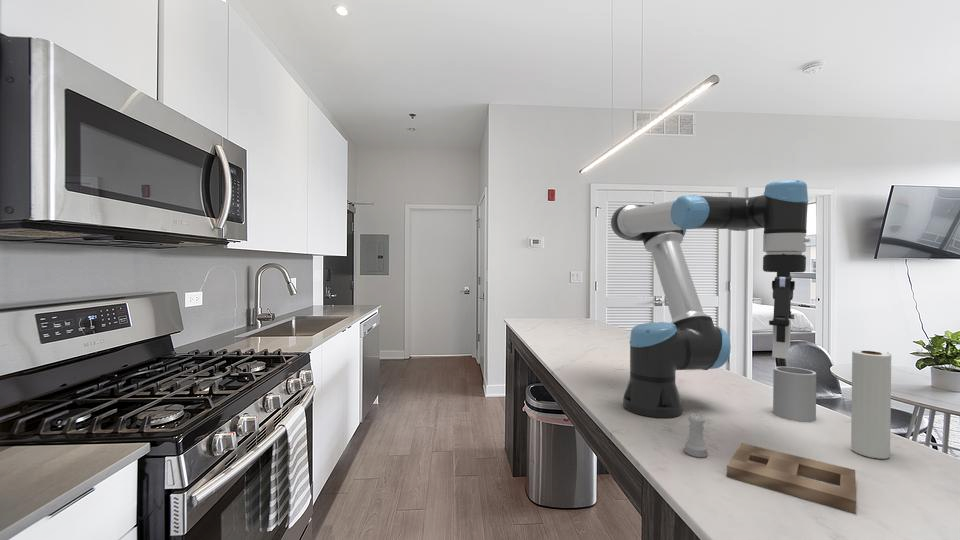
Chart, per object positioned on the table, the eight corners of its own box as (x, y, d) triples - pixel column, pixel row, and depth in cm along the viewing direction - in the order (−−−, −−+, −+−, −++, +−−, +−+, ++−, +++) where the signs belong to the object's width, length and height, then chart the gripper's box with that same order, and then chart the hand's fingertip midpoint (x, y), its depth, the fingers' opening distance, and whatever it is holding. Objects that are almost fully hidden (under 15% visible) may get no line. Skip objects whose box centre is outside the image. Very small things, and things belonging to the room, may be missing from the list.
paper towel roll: (859, 457, 88) (860, 353, 88) (845, 445, 94) (846, 348, 94) (903, 462, 86) (905, 356, 86) (887, 450, 91) (888, 351, 91)
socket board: (726, 476, 79) (726, 465, 79) (741, 452, 90) (741, 442, 90) (855, 513, 68) (856, 500, 68) (855, 480, 78) (855, 469, 78)
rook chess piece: (711, 459, 87) (711, 419, 87) (687, 457, 88) (688, 418, 88) (704, 450, 91) (704, 412, 91) (681, 448, 92) (682, 411, 92)
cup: (818, 424, 107) (818, 376, 107) (773, 417, 112) (774, 371, 112) (813, 414, 115) (813, 369, 115) (772, 408, 120) (772, 365, 119)
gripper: (806, 252, 80) (803, 365, 80) (805, 255, 100) (803, 345, 100) (758, 252, 84) (755, 359, 85) (767, 255, 104) (764, 341, 104)
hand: (781, 352), depth 92 cm, fingers open, 13 cm apart
